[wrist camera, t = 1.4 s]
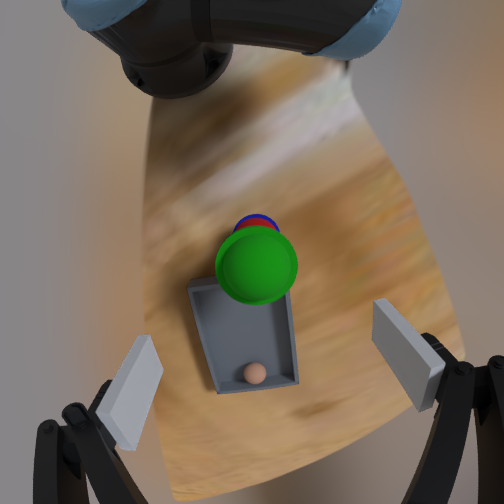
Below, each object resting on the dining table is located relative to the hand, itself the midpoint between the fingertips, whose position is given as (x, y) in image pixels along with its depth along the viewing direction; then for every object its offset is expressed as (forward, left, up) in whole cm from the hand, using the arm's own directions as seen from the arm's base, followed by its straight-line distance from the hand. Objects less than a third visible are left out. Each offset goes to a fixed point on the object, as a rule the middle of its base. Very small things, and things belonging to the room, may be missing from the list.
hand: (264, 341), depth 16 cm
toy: (0, 0, -24) cm, 24 cm away
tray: (+14, -3, -24) cm, 28 cm away
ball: (+20, -3, -23) cm, 31 cm away
